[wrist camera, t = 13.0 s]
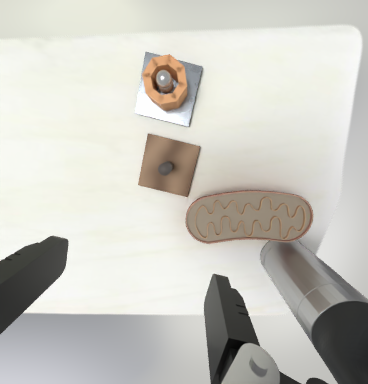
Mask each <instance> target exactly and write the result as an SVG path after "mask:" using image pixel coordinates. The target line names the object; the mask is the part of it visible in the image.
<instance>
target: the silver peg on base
mask: <svg viewBox="0 0 368 384" xmlns="http://www.w3.org/2000/svg"><path fill="white" fill-rule="evenodd" d="M159 56H160V55H156V54H153V53H149V52H145V58H144V64H143V70H142V74H143V72H144V70H145V69H146V67H147V65H148V64H149V62H150V60H151V59H152V58H154V57H159ZM177 61H178V62H180V63H181V64H182V65H183V66H184V67H185V74H186V82H187V97H186V98H185V100H184V101H183V103H182V104H181V106H180V107H179V108H178V109H172V110H166V111H164V110H162V109H161V108H160V107H158V106H157V105H156V104H155V103H153V102H152V101H151V100H150V98H149V97H148V96H147V94H146V92H145V87H144V81H143V76H142V75H141V81H140V87H139V93H138V99H137V104H136V110H135V113H136V114H139V115H143V116H147V117H151V118H155V119H159V120H163V121H167V122H171V123H175V124H179V125H183V126H187V127H189V123H190V119H191V114H192V110H193V106H194V102H195V97H196V93H197V89H198V85H199V80H200V76H201V72H202V66H198V65H195V64H191V63H187V62H183V61H179V60H177ZM156 82H157V85H158V86H157V87H156V88H157V92H158V93H160V94H161V95H166V94H171V93H173V92H174V90H175V88H176V87H177V85H178V84H179V83H178V82H176V81H175V80H174V79H173V78H172V76H171V74H170V73H169V72H168V71H167V70H160V71H159V72H158V73H157V75H156Z"/></svg>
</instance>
